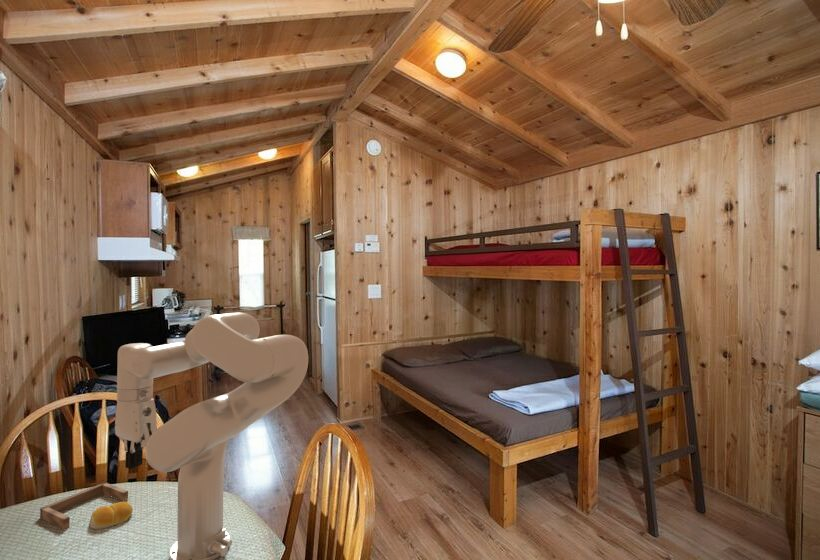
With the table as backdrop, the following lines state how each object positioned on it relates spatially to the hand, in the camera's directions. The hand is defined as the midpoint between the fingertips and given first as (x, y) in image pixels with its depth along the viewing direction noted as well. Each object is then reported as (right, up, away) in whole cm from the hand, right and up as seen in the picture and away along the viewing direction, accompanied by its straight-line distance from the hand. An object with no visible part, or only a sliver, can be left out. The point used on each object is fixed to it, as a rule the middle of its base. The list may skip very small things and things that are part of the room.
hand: (133, 466), depth 104 cm
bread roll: (-9, -16, +4) cm, 19 cm away
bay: (-19, -16, +9) cm, 26 cm away
